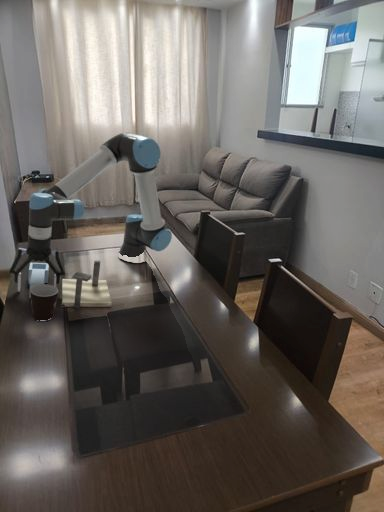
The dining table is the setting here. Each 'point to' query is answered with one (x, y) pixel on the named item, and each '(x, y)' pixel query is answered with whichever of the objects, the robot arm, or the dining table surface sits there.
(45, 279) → the link
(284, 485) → the dining table surface
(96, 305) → the pintle plate
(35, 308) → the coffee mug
